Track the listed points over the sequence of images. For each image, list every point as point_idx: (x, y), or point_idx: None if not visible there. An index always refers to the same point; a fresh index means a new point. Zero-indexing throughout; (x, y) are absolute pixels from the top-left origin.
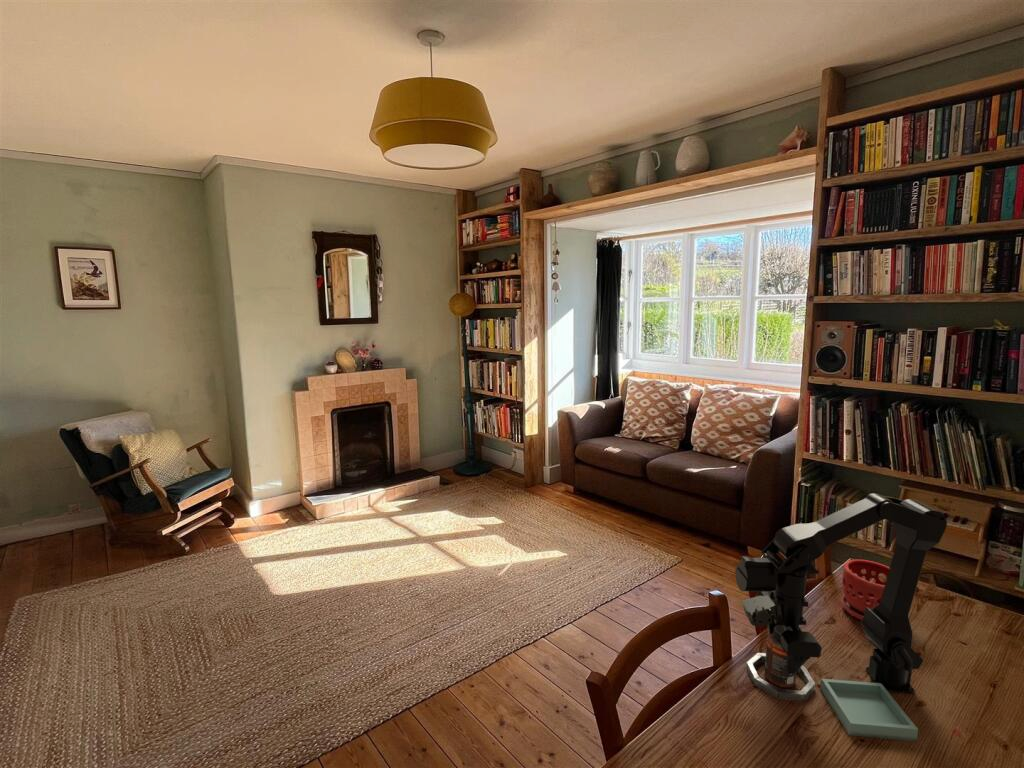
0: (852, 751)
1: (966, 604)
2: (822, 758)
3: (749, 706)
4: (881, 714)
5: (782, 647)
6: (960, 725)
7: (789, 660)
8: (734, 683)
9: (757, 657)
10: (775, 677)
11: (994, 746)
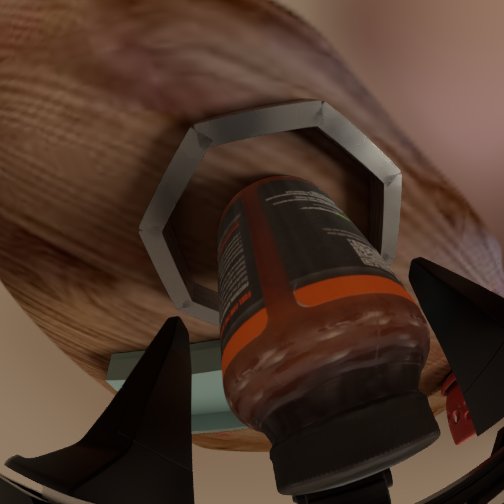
0: (70, 346)
1: (442, 411)
2: (12, 294)
3: (56, 112)
4: (209, 403)
5: (27, 477)
6: (241, 437)
7: (111, 402)
8: (172, 37)
9: (370, 161)
10: (223, 226)
11: (216, 445)
